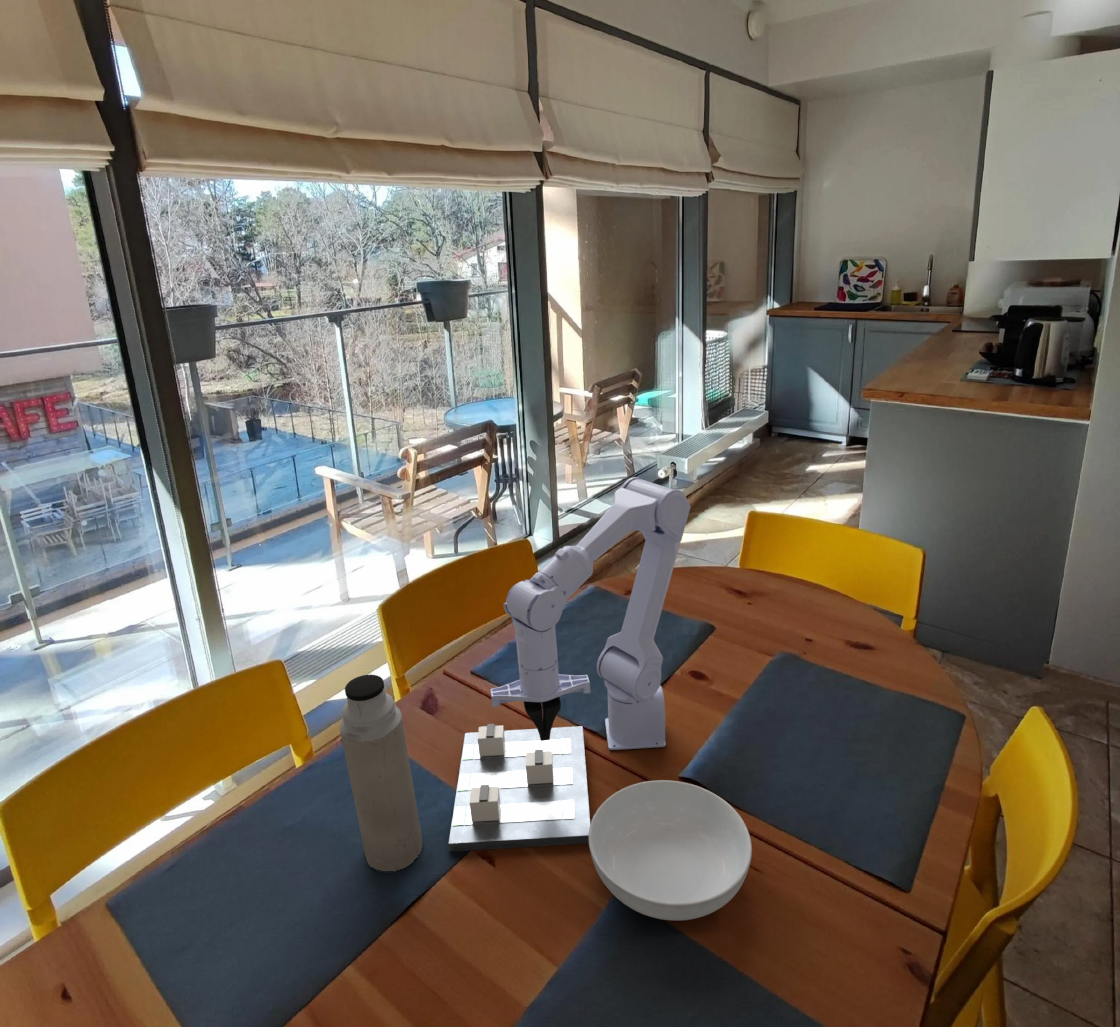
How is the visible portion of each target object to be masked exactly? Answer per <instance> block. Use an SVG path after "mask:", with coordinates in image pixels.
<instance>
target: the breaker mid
mask: <svg viewBox="0 0 1120 1027" xmlns="http://www.w3.org/2000/svg"><path fill="white" fill-rule="evenodd" d="M526 774H527V784H538V783H553V759H552V751H543V749H542V750H535V752H527V753H526Z"/></svg>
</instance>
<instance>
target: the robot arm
mask: <svg viewBox="0 0 1120 1027" xmlns="http://www.w3.org/2000/svg"><path fill="white" fill-rule="evenodd" d="M613 494H614V495H613V501H612V502H613V503H612V505H611V506H610V507H609V508H608V509H607V510H606V512H605V513H604V514H603V515H602V516H601V517H600V519H599V520H598V521H597V522H596V523H595V524H594V525H593V526H592V527H591V528H590V530H589V531H588V532H587V533H586V534H585V535H584V536H583V538H582V539H581V540H580V541H579V542H578V543H577V544H576V545H564V546H563V547H561V548H559V549H558V550H557V551H556V552H555V553H554V555H553V557H552V558H550V560H548V561H547V562H546V563H545V564H544V565H543V566H542V567H541V568H540V569H539V570H538V571H537V572H536V573H535V574H534V575H533V576H532V577H531V578H530V579H524V580H521V581H519V582H517V583H516V584H514V585H513V586H512V587H511V588H510V589H509V591H508V592H507V595H506V600H505V601H506V602H504V603H503V609H504V611H505V613H506V614H507V615H508V616H510V617H511V619H512V626H514V633H515V641H516V642H515V643H516V645H515V646H516V654H517V663H518V673H519V674H518V675H519V679H517V680H514V681H513V682H510V683H506V684H504V685H502V686H497V687H493V688H490V698H491V704H492V705H491V706H492V708H497V707H500V706H501V704H505V703H512V702H523V706H524V707H523V708H524V710H525V713H526V715H527V716H528V717H529V718H530V720H531V721H532V722H533V724H534V726H535V729H537V730H538V732H539V735H540V740H541V741H545V740H550V733H551V728H553V724H554V722H555V719H556V717H557V716H558V714H559V712H560V711H561V707H562V703H561V698H560V697H562V696H563V695H567V694H574V693H580V692H581V693H582V694H591V682H590V678H589V676H588V674H583V675H581V674H580V675H575V674H560V673H559V661H558V659H559V658H558V647H557V646H558V645H557V635H556V625H557V624H558V622H559V621H560V620H561V616H562V615H563V610H564V608H565V607H566V606H567V603H568V599H569V598H570V597H571V596H572V595H573V594H574V593H575V592H576V591H577V590H578V589H579V588H580V587H581V586H582V585H583V584H584V583H585V582H586V581H587V580H589V578H590V577H591V576H592V575H593V572H594V562H595V561H596V560H597V559H599V558H600V557H601V556H602V555H603V554H604V553H606V552H607V551H608V550H610V549H611V547H613V546H614V545H615V544H617V542H619V541H620V540H621V539H622V538H623V537H625V536H626V535H627V534H628V533H629V532H632V531H634V532H637V531H640V533H641V534H642V536H643V537H644V540H645V542H644V544H643V550H642V553H641V555H640V556H641V557H640V561H639V564H638V567H637V571H636V575H635V579H634V582H633V587H632V590H631V594H630V597H629V602H628V605H627V608H626V612H625V617H624V619H623V622H622V627H621V631H619V632H617V633H615V634H613V635H610V636H609V637H607V640H606V643H605V646H604V648H603V649H602V651H601V653H600V655H599V656H598V658H597V662H596V673H597V675H598V676H599V677H600V678H601V679H603V680H604V686H605V687H606V689H607V690H606V691H607V714H608V717H607V718H604V724H605V731H606V740H607V747H608V750H609V751H619V750H632V749H633V750H634V749H636V750H637V749H649V748H650V749H651V748H652V749H654V748H665V747H666V746H667V743H666V707H665V706H666V705H665V703H666V702H665V697H664V696H665V695H664V691H663V690H664V689H663V687H662V685H661V682H662V665H663V661H664V657H663V654H662V653H661V651H660V650H659V648H658V646H657V644H656V642H655V637H656V636H655V635H656V631H657V629H658V625H659V622H660V617H661V616H662V615H661V614H662V612H663V607H664V603H665V600H666V595H667V592H668V589H669V585H670V581H671V579H672V574H673V570H674V566H675V564H676V560H677V555H678V552H679V550H680V545H681V542H682V539H683V536H684V532H685V529H686V525H687V521H688V518H689V514H690V512H691V511H690V510H691V505H690V502H689V501H688V499H687V497H686V495H685V493H684V492H683V491H681V490H679V489H677V488H676V489H675V488H670V487H667V486H663V485H660V484H657V483H654V482H651V481H648V480H644V479H642V478H641V477H638V476H634V477H630V478H628V479H627V480H626V481H625V482H623V484H622V485H621V487H620V488H619V489H617V490H616V491H614V493H613Z"/></svg>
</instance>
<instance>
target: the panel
mask: <svg viewBox="0 0 1120 1027" xmlns="http://www.w3.org/2000/svg"><path fill="white" fill-rule="evenodd" d="M583 727H584V726H582V725H578V726H562V727H561V726H559V727H552V728H551V733H550V740H545V741H541V740H540V735H539V732H538V730H537V728H530V729H529V728H527V729H512V730H510V729H509V730H504V736H505V752H504V755H494V756H480V755H479V747H478V732H476V731H475V732H464V739H463V746H462V753H461V759H460V765H459V766H460V767H459V771H458V772H459V774H458V779H457V785H456V793H455V799H454V806H453V812H452V818H451V826H450V831H449V832H450V833H449V837H448V850H449V852H466V851H467V852H470V851H484V850H497V849H498V850H500V849H502V850H503V849H515V848H516V849H517V848H533V847H534V848H536V847H549V846H550V847H553V846H570V845H582V844H583V845H586V844H589V828H590V824H591V819H590V815H591V814H590V805H589V804H590V802H589V792H588V780H587V779H588V778H587V777H588V776H587V764H586V755H585V754H586V752H585V739H584V728H583ZM542 749H543V751H552V759H553V783H538V784H527V774H526V753H527V752H535V750H542ZM481 785H489V787H493V786H499V794H500V803H501V808H500V820H493V821H476V822H472V818H471V810H470V795H471V788H476V787H481Z"/></svg>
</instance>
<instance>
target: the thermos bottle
mask: <svg viewBox="0 0 1120 1027" xmlns="http://www.w3.org/2000/svg"><path fill="white" fill-rule="evenodd" d="M344 692H345V696H346V703H345V704H344V706H343V708H342V717H341V718H342V719H341V721H340V723H339V724H340V725H339V733H340V737H341V742H342V746H343V751H344V757H345V762H346V766H347V767H346V768H347V770H348V775H349V776H348V777H349V781H350V786H351V791H352V796H353V802H354V807H355V810H356V811H355V812H356V816H357V821H358V826H359V831H360V835H361V840H362V845H363V850H364V856H365V859H366V861H367V864H368V865H369V867H371V868H372V867H373V868H375V869H377V870H376V871H378V870H381V871H393V872H397V870H398V871H401V870H403V869H404V868H407V867H409V866H410V865H412V863H413V864H414V862H415V861H416V860H417V859H418V857H419V856H420V854H421V852H422V848H423V837H422V830H421V826H420V820H419V819H420V818H419V813H418V805H417V800H416V795H415V794H416V793H415V788H414V782H413V774H412V770H411V764H410V757H409V756H410V755H409V751H408V744H407V740H406V733H405V726H404V722H403V721H404V720H403V715H402V711H401V710H400V708H399V707H398V706H397V705H396V702H395V700H394V698H393V696H392V695H390V694H389V693H387V692H386V690H385V683H384V679H383V678H382V677H381V676H380V675H377V674H363V675H360V676H357V677H354V678H353V679H351V680H350V681H348V682H347V683H346V685H345V687H344ZM418 855H419V856H418ZM416 858H417V859H416ZM415 859H416V860H415ZM414 860H415V861H414ZM373 868H372V869H373ZM375 869H374V870H375ZM400 869H401V870H400ZM381 871H380V872H381Z"/></svg>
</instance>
